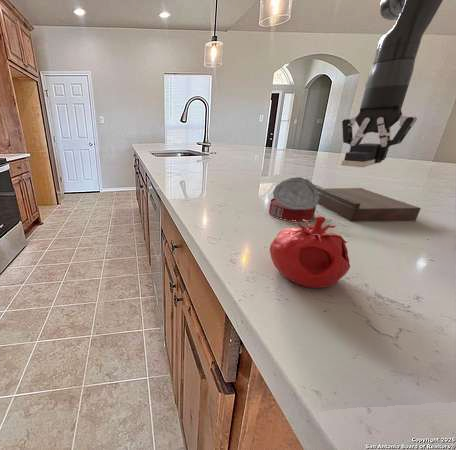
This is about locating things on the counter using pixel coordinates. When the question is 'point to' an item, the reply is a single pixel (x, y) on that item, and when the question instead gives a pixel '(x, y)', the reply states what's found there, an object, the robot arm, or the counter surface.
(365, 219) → the brown flat slab
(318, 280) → the pomegranate
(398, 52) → the robot arm
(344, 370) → the counter surface
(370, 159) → the stepped dark block
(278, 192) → the canned food
